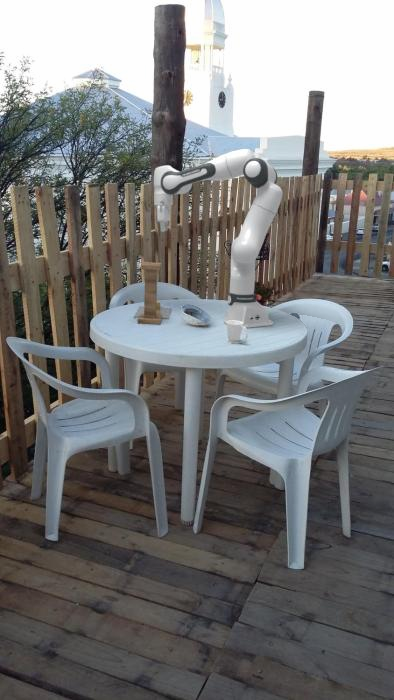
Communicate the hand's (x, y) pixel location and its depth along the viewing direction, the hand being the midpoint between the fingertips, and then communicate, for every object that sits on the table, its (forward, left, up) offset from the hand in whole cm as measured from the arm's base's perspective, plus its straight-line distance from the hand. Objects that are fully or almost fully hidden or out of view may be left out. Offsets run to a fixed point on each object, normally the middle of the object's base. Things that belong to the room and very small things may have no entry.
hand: (164, 231), depth 274 cm
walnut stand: (+13, +25, -38) cm, 47 cm away
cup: (-13, +64, -38) cm, 76 cm away
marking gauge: (+6, +8, -37) cm, 39 cm away
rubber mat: (+7, +9, -38) cm, 39 cm away
